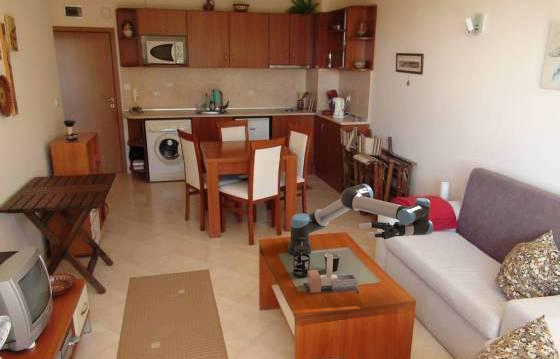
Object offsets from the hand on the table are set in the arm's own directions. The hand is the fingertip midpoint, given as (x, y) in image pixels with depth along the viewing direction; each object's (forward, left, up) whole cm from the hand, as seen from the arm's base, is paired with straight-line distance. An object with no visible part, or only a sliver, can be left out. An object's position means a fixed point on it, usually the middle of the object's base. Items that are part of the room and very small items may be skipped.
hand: (363, 230), depth 230 cm
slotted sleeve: (0, -16, -32) cm, 36 cm away
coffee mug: (-22, -10, -32) cm, 40 cm away
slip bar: (0, -19, -29) cm, 34 cm away
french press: (-17, -29, -32) cm, 46 cm away
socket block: (0, -25, -30) cm, 40 cm away
